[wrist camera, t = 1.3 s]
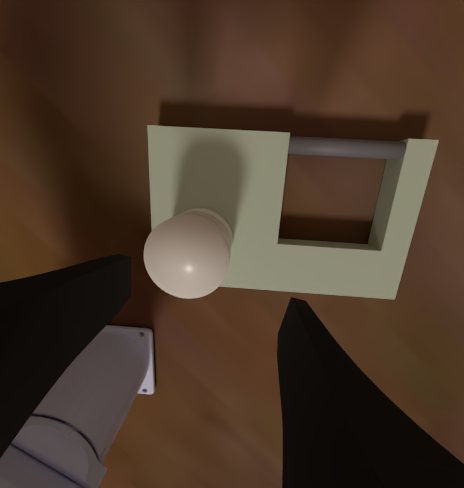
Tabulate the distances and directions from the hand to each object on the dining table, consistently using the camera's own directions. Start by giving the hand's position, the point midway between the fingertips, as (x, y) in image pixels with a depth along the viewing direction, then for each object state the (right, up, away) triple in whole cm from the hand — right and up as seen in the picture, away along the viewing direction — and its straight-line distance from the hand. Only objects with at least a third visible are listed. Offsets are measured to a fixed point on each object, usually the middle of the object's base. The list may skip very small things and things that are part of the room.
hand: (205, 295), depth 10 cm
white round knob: (-1, +3, +8) cm, 9 cm away
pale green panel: (+5, +5, +9) cm, 11 cm away
